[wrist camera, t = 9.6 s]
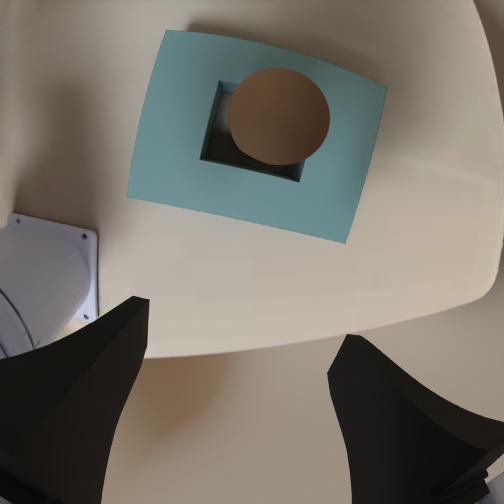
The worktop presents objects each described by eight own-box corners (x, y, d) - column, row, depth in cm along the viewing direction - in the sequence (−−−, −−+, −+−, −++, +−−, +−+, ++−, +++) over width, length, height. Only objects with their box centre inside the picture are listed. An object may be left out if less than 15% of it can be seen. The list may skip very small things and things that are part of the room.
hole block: (142, 189, 18) (126, 197, 15) (176, 45, 14) (166, 29, 12) (330, 229, 19) (345, 243, 17) (366, 93, 16) (387, 87, 13)
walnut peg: (227, 150, 17) (216, 152, 8) (238, 105, 16) (241, 57, 7) (273, 160, 18) (316, 176, 8) (285, 116, 17) (339, 85, 7)
